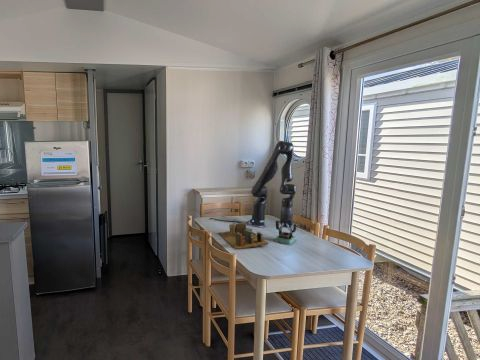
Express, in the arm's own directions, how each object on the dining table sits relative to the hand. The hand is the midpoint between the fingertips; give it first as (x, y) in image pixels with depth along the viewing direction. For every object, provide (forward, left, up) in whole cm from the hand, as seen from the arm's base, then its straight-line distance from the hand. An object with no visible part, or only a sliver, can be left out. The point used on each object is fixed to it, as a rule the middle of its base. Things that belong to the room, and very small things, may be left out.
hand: (285, 236), depth 205 cm
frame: (0, 0, -1) cm, 1 cm away
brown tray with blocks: (-23, -18, -3) cm, 29 cm away
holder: (0, 0, -3) cm, 3 cm away
